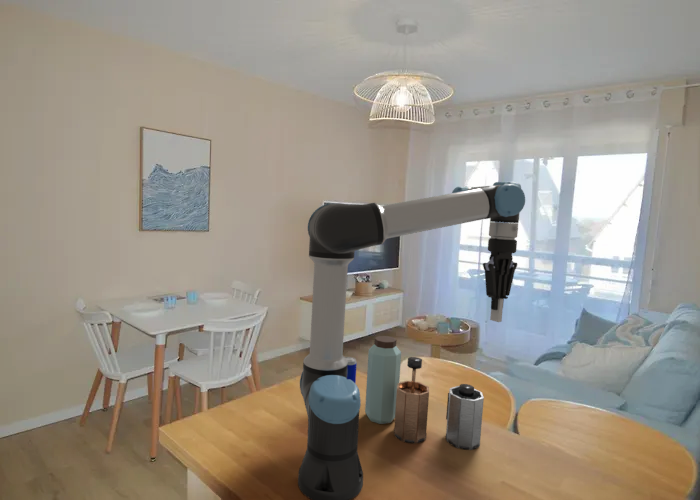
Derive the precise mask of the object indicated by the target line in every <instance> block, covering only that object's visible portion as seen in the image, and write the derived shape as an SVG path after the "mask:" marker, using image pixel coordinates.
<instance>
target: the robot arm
mask: <svg viewBox="0 0 700 500" xmlns="http://www.w3.org/2000/svg"><path fill="white" fill-rule="evenodd" d="M525 204H526V195H525V192H524V190H523V189H522V185H521V184H520V183H518V182H515V181H496V182H494V183H493V184H492V185H486V186H485V185H483V186H475V187H474V186H467V185H466V186H456V187H455V188H454V189H453V190H452V192H450V193H446V194H440V195H435V196H434V195H433V196H430V197H429V196H428V197H423V198H419V199H413V200H407V201H402V202H397V203H390V204H384V205H379V204H378V203H376V202H370V203H363V204H345V203H327V204H323V205H322V206H320V207H318V208H317V209H316V210H314V211H313V212H312V214H311V215H310V218H309V219H308V222H307V223H308V224H307V232H308V233H307V234H308V236H309V242H308V243H309V244H308V247H309V248H308V257H309V258H310V260H312V261H313V263H314V264H313V265H314V266H313V283H312V303H311V323H310V342H309V353H308V354H307V355H306V356H305V357H304V358H303V364H302V372H301V374H300V379H299V389H300V394H301V395H302V398H303V402H304V406H305V409H306V410H305V411H306V415H307V445H306V451H305V453H304V457H303V459H302V462H301V465H300V467H299V469H298V475H297V484H298V485H297V486H298V488H299V490H300V492H301V494H303V495H304V496H305V497H307V498H308V499H310V500H352V499H354V498H356V497H357V496H358V495H359V494H360V493H361V491H362V489H363V486H364V472H363V471H364V470H363V467H362V463H361V460H360V456H359V453H358V442H359V424H360V423H359V422H360V409H361V406H362V405H361V401H362V399H361V394H360V393H361V392H360V389H359V387H358V385H357V384H356V383H354V382H353V381H352V380H350V379H347V368H348V361H347V359H346V358H345V357H346V356H345V355H343V350H344V335H345V321H346V320H345V319H346V317H345V316H346V304H347V303H346V302H347V301H346V300H347V286H348V285H347V283H348V269H349V268H348V267H349V264H350V263H351V262H352V261H354V259H355V252H357V251H359V250H363V249H367V248H371V247H374V246H379V245H383V244H384V243H385V241H386V240H388V239H391V238H397V237H401V236H402V237H403V236H407V235H411V234H417V233H422V232H426V231H427V232H428V231H431V230H436V229H441V228H442V229H443V228H447V227H451V226H452V227H453V226H456V225H461V224H466V223H471V222H472V223H473V222H476V221H480V220H488V219H489V227H488V236H489V238H488V241H487V251H488V252H490V256H489V258H488V260H489V261H488V262H483V263H482V267H483V270H484V279H485V280H484V281H485V291H486V292H485V293H486V296H487V297H488V298H490V299H491V301H490V317H489V320H490V321H493V322H496V323H501V322H503V310H504V302H505V300H507V299H508V298H509V297H508V296H510V294H511V289H512V285H513V279H514V275H515V271H516V269H517V267H518V263H517V262H514V260H513V259H514V258H513V254H515V253H516V252H517V247H518V241H517V239H516V238H518V233H519V221H520V213H521V212H522V211H523V209H524V207H525Z"/></svg>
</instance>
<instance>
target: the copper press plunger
mask: <svg viewBox="0 0 700 500" xmlns="http://www.w3.org/2000/svg"><path fill="white" fill-rule="evenodd" d="M407 367H408V368H410V369H412V370H411V373H412V374H411V381H412V384H411V388H408V389H403V391H405V392H407V393H414V394H421V393H423V392H422V391H420V390H417V389H415V382H416V377H417V374H416V373H417V370H420V369H422V367H423V359H422V358H420V357H417V356H409V357H408V358H407Z"/></svg>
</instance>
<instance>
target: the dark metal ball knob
mask: <svg viewBox="0 0 700 500" xmlns="http://www.w3.org/2000/svg"><path fill="white" fill-rule="evenodd" d="M458 386H459V394H460V395H462V396H464V399H468V397H472V396H474V389H475V387H474V386H473V385H471V384H467V383H461V384H459V385H458Z"/></svg>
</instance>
